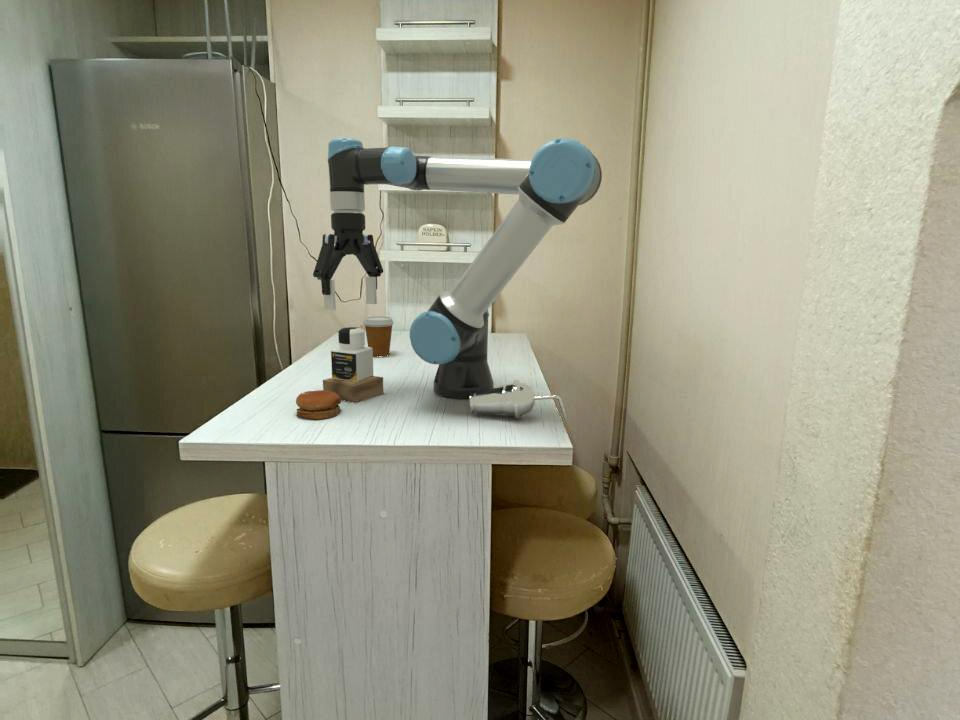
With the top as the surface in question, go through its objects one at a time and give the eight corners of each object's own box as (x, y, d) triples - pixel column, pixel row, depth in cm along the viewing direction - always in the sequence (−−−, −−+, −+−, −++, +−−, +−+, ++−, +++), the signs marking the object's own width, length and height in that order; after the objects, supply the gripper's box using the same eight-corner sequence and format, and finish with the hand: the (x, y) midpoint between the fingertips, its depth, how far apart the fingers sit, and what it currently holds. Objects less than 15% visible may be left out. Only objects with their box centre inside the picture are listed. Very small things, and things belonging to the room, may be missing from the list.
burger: (333, 421, 116) (332, 399, 115) (289, 420, 116) (287, 398, 115) (346, 407, 125) (345, 387, 124) (305, 406, 126) (304, 386, 125)
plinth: (383, 393, 136) (383, 376, 135) (354, 403, 128) (354, 385, 127) (353, 387, 141) (352, 370, 140) (323, 396, 133) (322, 379, 132)
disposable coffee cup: (388, 359, 174) (387, 321, 171) (359, 357, 175) (358, 319, 173) (398, 353, 183) (397, 316, 180) (371, 351, 184) (370, 315, 182)
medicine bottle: (331, 379, 132) (329, 329, 129) (349, 372, 138) (348, 325, 136) (356, 382, 129) (354, 331, 127) (374, 376, 136) (372, 327, 133)
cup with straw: (475, 384, 126) (564, 377, 121) (477, 424, 125) (567, 419, 120) (466, 382, 117) (561, 374, 113) (468, 425, 116) (564, 419, 112)
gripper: (372, 214, 138) (375, 300, 142) (292, 210, 117) (298, 310, 121) (396, 214, 134) (398, 302, 138) (317, 209, 113) (323, 313, 118)
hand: (351, 306), depth 130 cm, fingers open, 13 cm apart
